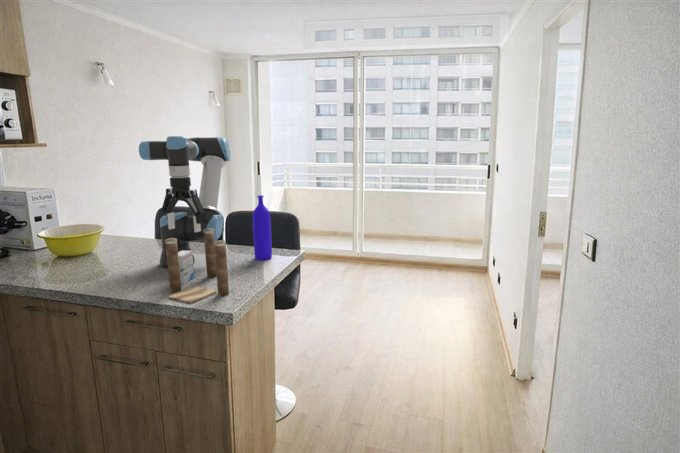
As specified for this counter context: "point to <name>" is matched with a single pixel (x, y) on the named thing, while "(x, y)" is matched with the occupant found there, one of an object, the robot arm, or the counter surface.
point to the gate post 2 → (210, 252)
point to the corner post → (221, 267)
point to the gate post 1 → (173, 264)
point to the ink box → (186, 266)
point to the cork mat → (192, 294)
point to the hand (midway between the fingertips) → (184, 230)
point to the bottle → (262, 231)
